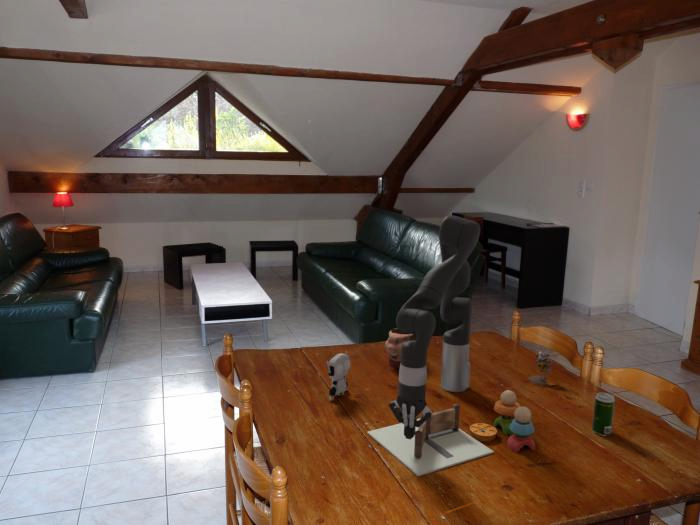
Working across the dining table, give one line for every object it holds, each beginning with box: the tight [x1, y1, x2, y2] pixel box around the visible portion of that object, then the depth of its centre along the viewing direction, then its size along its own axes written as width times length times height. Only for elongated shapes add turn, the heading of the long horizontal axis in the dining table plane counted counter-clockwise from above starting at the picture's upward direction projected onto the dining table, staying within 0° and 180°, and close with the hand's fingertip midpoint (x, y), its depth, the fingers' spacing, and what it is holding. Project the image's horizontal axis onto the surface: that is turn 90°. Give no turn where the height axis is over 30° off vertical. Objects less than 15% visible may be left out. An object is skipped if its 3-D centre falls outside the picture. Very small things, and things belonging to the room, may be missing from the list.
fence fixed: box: [420, 403, 461, 440], centre depth 167 cm, size 14×2×8 cm, turn 119°
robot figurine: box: [527, 351, 553, 387], centre depth 208 cm, size 11×9×12 cm
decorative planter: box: [384, 327, 417, 369], centre depth 225 cm, size 20×12×14 cm, turn 153°
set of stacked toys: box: [469, 389, 536, 453], centre depth 166 cm, size 18×17×12 cm
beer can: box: [591, 392, 616, 436], centre depth 170 cm, size 5×5×12 cm
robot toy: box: [326, 350, 351, 401], centre depth 193 cm, size 12×4×15 cm, turn 149°
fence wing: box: [414, 420, 427, 458], centre depth 158 cm, size 11×2×7 cm, turn 164°
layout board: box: [366, 417, 494, 477], centre depth 164 cm, size 26×26×1 cm
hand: (409, 437), depth 157 cm, fingers closed
